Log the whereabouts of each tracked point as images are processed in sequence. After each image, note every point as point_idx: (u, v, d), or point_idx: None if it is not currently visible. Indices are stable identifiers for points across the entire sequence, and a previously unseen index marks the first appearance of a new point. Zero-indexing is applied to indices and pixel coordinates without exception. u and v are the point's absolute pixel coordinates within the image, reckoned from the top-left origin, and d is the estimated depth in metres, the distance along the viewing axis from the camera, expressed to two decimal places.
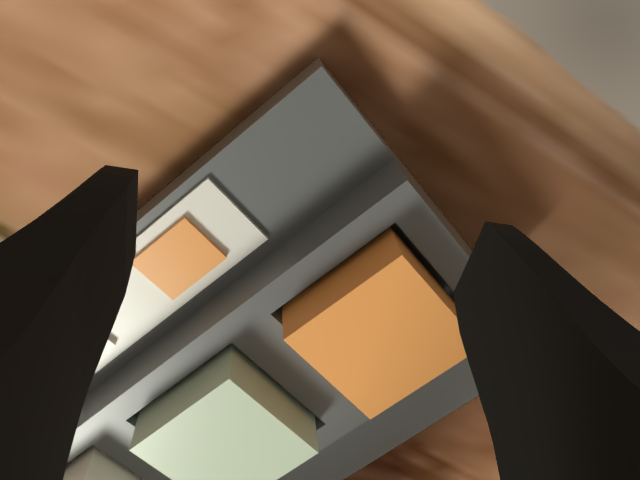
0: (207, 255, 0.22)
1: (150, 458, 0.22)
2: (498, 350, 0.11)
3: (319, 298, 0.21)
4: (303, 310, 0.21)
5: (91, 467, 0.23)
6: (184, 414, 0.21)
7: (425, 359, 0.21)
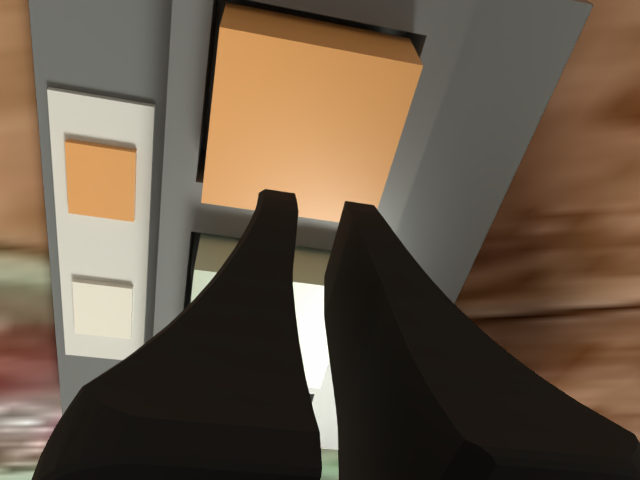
0: (117, 162, 0.20)
1: None
2: (345, 333, 0.11)
3: None
4: None
5: None
6: None
7: (367, 126, 0.16)
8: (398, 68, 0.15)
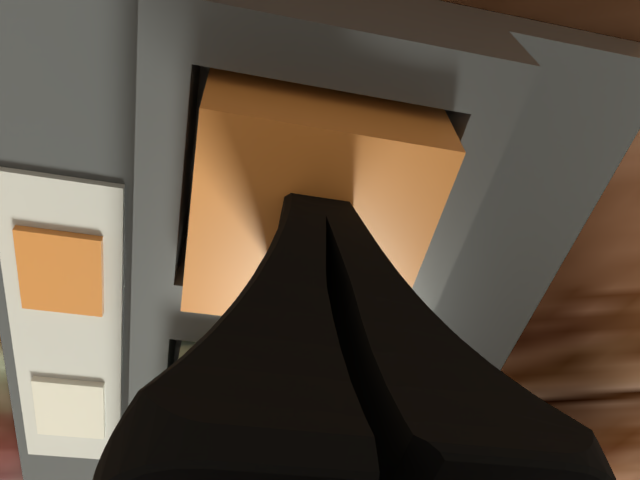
0: (79, 252, 0.16)
1: None
2: None
3: None
4: None
5: None
6: None
7: (391, 223, 0.12)
8: (434, 155, 0.11)
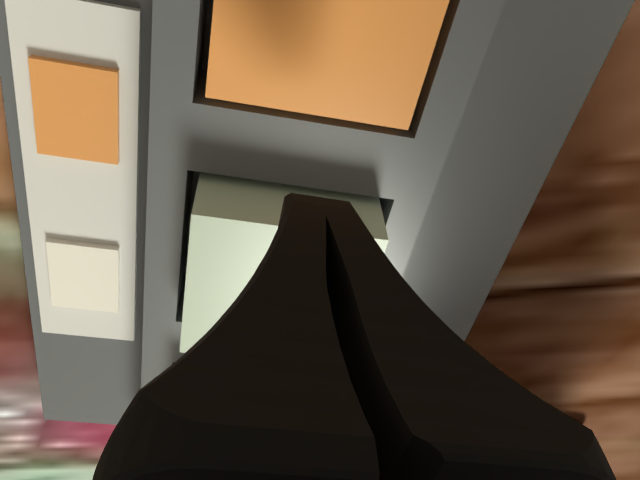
0: (95, 85, 0.16)
1: None
2: None
3: None
4: None
5: None
6: (190, 283, 0.16)
7: None
8: None
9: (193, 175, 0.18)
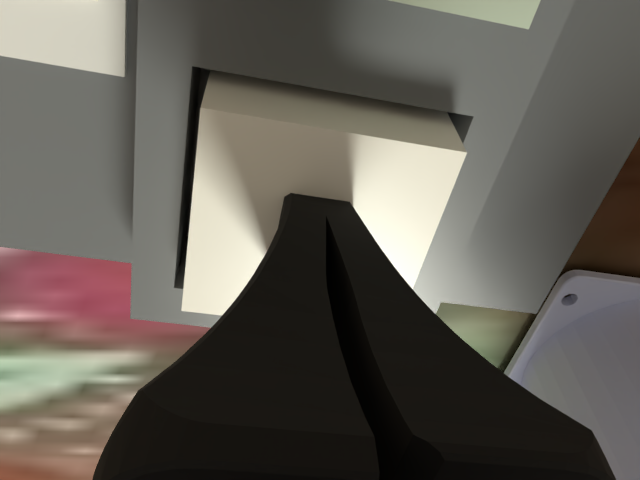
0: None
1: None
2: None
3: None
4: None
5: (213, 89, 0.11)
6: None
7: None
8: None
9: None
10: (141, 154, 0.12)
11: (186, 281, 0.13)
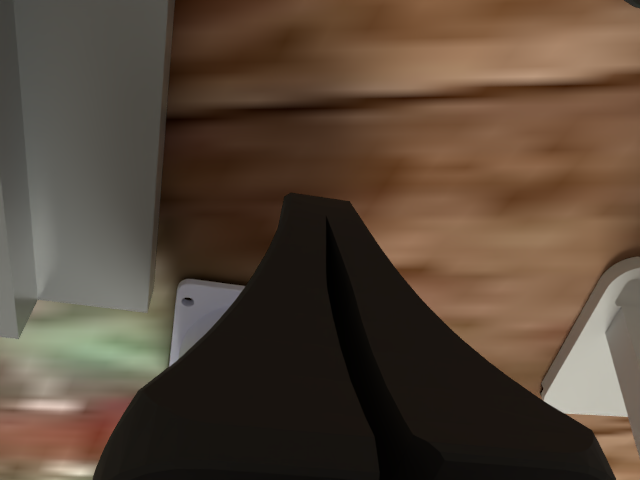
0: None
1: None
2: None
3: None
4: None
5: None
6: None
7: None
8: None
9: None
10: None
11: None
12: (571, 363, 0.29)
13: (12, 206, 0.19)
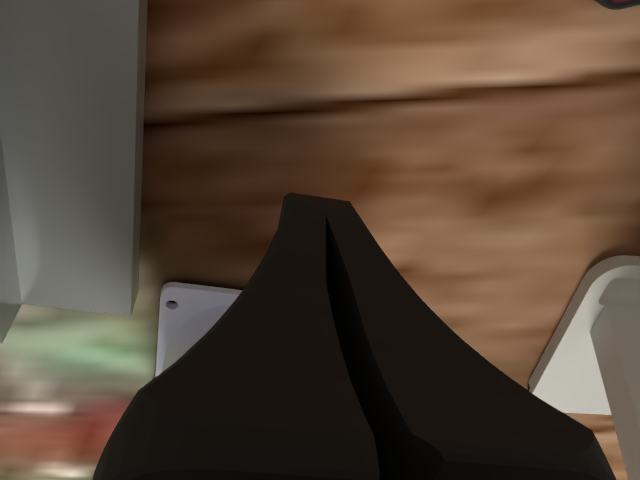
0: None
1: None
2: None
3: None
4: None
5: None
6: None
7: None
8: None
9: None
10: None
11: None
12: (556, 362, 0.29)
13: None
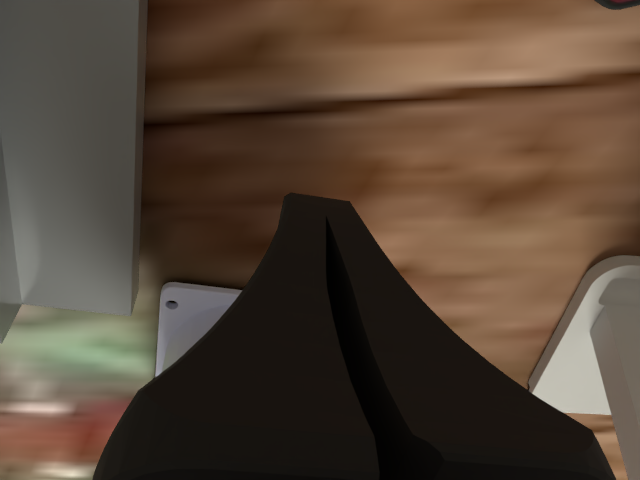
0: None
1: None
2: None
3: None
4: None
5: None
6: None
7: None
8: None
9: None
10: None
11: None
12: (556, 362, 0.29)
13: None
